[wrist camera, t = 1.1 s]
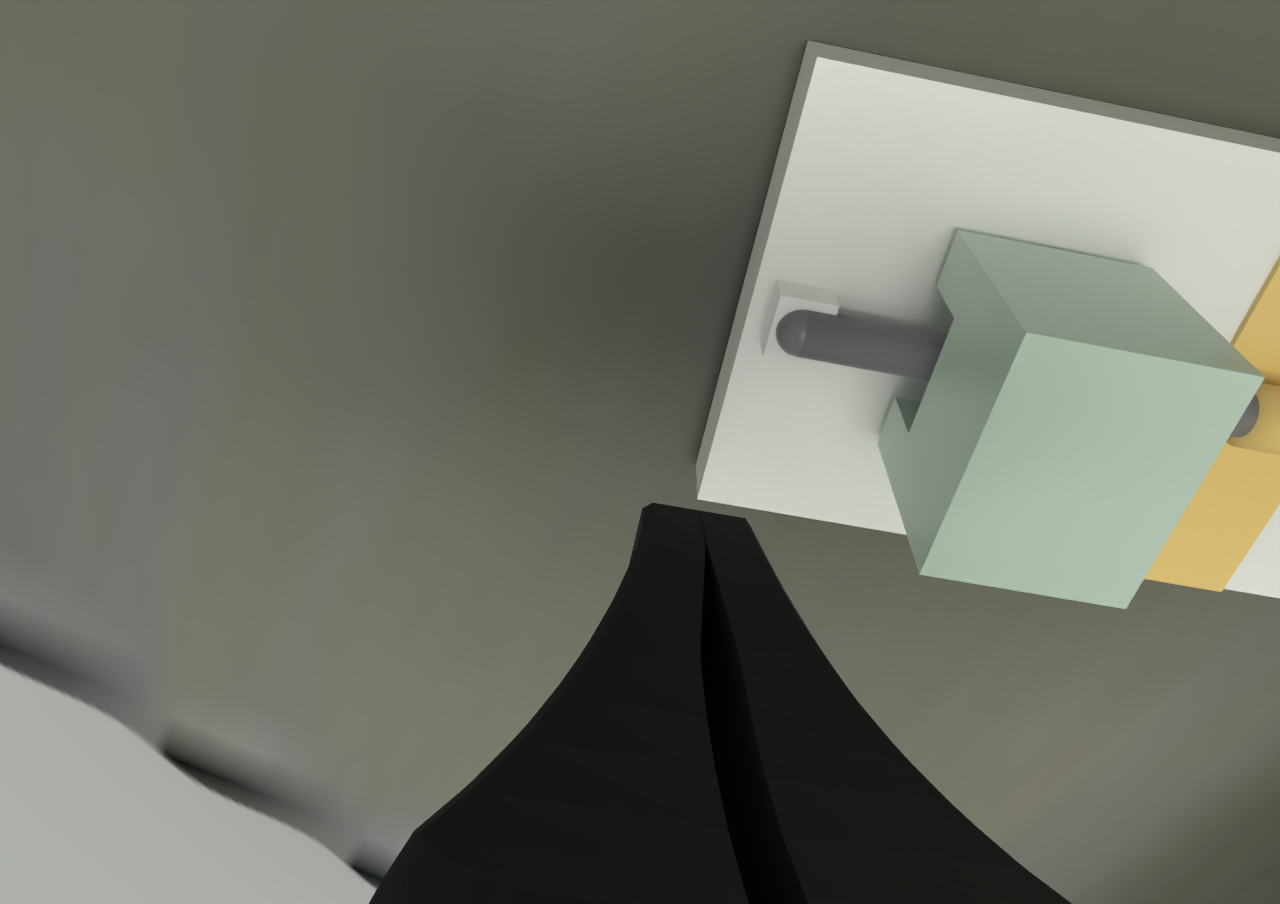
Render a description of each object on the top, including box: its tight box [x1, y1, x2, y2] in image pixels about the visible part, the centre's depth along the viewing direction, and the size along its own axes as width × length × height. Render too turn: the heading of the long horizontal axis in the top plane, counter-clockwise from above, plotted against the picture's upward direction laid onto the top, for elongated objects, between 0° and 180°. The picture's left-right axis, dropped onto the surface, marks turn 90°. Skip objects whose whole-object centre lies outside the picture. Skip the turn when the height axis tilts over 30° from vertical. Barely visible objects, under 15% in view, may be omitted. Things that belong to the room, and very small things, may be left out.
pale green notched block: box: [877, 230, 1265, 609], centre depth 19 cm, size 4×5×4 cm
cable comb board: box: [696, 40, 1280, 598], centre depth 21 cm, size 18×10×4 cm, turn 79°
